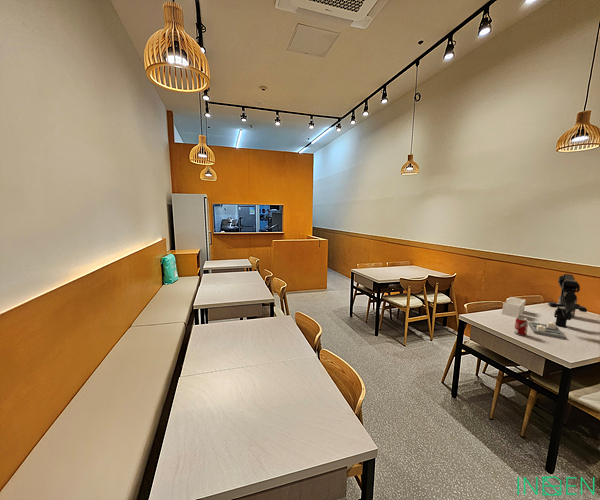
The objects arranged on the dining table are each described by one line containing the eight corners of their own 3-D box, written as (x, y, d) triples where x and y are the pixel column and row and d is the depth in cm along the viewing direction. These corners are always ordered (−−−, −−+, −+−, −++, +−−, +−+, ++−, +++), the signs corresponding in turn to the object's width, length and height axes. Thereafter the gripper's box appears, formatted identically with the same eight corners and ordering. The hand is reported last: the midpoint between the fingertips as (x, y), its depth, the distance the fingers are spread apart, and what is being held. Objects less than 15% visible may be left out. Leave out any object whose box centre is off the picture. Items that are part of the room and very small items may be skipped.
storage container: (518, 318, 206) (519, 306, 205) (501, 314, 215) (503, 302, 213) (523, 311, 222) (525, 299, 220) (508, 307, 230) (510, 296, 229)
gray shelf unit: (528, 324, 195) (528, 321, 194) (556, 329, 186) (556, 326, 186) (534, 333, 179) (534, 330, 179) (565, 339, 170) (565, 336, 170)
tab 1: (536, 329, 182) (537, 324, 181) (543, 331, 180) (544, 325, 179) (537, 331, 179) (538, 325, 179) (544, 332, 177) (545, 326, 176)
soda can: (515, 334, 176) (517, 319, 175) (512, 331, 182) (514, 316, 181) (527, 337, 173) (530, 321, 172) (524, 333, 179) (526, 317, 177)
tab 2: (546, 326, 187) (547, 320, 187) (553, 327, 185) (554, 322, 185) (547, 328, 185) (548, 322, 184) (555, 329, 183) (556, 323, 182)
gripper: (554, 298, 176) (550, 318, 179) (592, 303, 166) (588, 324, 168) (549, 294, 186) (546, 313, 188) (585, 298, 175) (581, 319, 178)
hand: (564, 317), depth 180 cm, fingers closed
